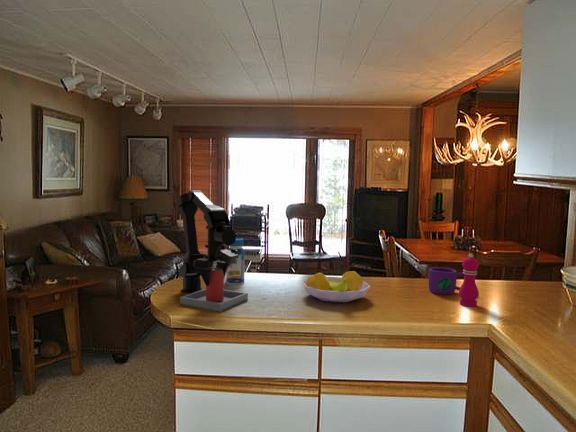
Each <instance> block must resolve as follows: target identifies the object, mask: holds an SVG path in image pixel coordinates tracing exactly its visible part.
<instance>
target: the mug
mask: <svg viewBox="0 0 576 432" xmlns="http://www.w3.org/2000/svg"><path fill="white" fill-rule="evenodd" d="M460 276H461V277H464V273H463V272H457V270H456V269H453V268H450V267H439V266H438V267H437V266H436V267H429V268H428V290H429V292H431V293H432V294H437V295H443V296H449V295H451V296H452V295H453V294H454V293H455V291H459V290H460V287H461V286H460V287H459V286H457V278H458V277H460Z"/></svg>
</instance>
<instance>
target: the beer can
mask: <svg viewBox="0 0 576 432" xmlns="http://www.w3.org/2000/svg"><path fill="white" fill-rule="evenodd" d="M212 268H213V270H212V271H211V272H210V282H209V286H206V285H205V289H206V301H210V302H221V301H222V300H223V299H224V290H225V288H224V286H225V284H224V283H225V278H224V273H223V271H222V270H223V269H221V268H218V267H212Z"/></svg>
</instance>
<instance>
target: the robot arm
mask: <svg viewBox="0 0 576 432" xmlns="http://www.w3.org/2000/svg"><path fill="white" fill-rule="evenodd" d="M175 205H176V208H177V212H178V213H179V215H180V216H181V217H182V222H183V223H182V224H183V233H184V244H185V255H184V256H183V259H182V264H181V267H180V268H179V271H178V273H179V277H181V278H183V279H182V288H181V289H180V292H184V293H185V292H186V293H189V294H191V293H194V292H197V291H200V290H203V288H201V287H202V286H201V285H202V283H201V278H202V280H203V282H204V284H205V287H206V286H209V282H210V272H211V271H212V270H213V268H214V267H213V266H214V264H216V268H221V269H223V270H222V271H223V273H224V279H225V278H226V271H227V269H228V267H229V266H230V265H231V264H233V263H235V260H236V258H238V250H237V249H232V250H228V249H227V246H228V245H232V244H233V243H234V242H235V240H236V238H237V235H236V232H235V231H234V230H233V229H232V226H231V219H229V217H228V214H227V211H226V209H225V208H223V207H222V206H219V205H215V204H214V203H213V202H212V201H210V199H209V198H207V196H206V195H204V193H203V191H202V190H198V189H197V190H196V189H195V190H193V189H191V190H189V191H188V192H186V193H183V194H180V195H179V196H178V197H177V198H176V201H175ZM198 209H199V210H200V211H201V212H202V213H203V219H204V221H205V222H206V224H207V225H206V226H205V230H207V244H204V247H205V248H206V249H207V255H204V254H203V253H201V252H200V251H199V245H198V236H197V226H196V214H197V212H198Z"/></svg>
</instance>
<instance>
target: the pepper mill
mask: <svg viewBox="0 0 576 432" xmlns="http://www.w3.org/2000/svg"><path fill="white" fill-rule="evenodd" d="M461 265H462V268H463V270H462V273H464V276H463V282H462V283H461V286H460V290H458V296H459V297H460V299H459V304H460V305H461V306H463V307H470V308H472V307H473V308H475V307H477V306H478V301H477V299H478V298H479V295H480V292H479V288H478V286H477V284H476V276H477V275H478V271H477V270H478V269H479V267H480V264H479V260H478V259H476V258H474V254H473V253H469V254H468V257H465V258H464V259H463V260H462V262H461Z"/></svg>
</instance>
